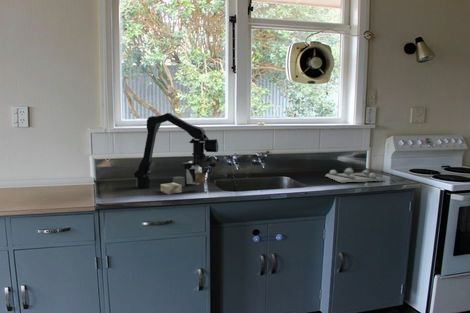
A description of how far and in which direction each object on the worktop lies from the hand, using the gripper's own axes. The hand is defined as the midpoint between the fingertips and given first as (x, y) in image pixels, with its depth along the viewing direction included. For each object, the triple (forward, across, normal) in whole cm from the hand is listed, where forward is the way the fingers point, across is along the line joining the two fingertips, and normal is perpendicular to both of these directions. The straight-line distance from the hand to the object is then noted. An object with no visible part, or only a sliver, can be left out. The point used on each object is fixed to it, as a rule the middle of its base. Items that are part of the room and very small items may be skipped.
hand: (198, 180), depth 215 cm
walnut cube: (+1, 0, 0) cm, 1 cm away
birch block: (+6, -14, +4) cm, 16 cm away
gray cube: (+6, -5, +15) cm, 17 cm away
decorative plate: (+6, +99, -18) cm, 101 cm away
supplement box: (+6, +6, +18) cm, 20 cm away
